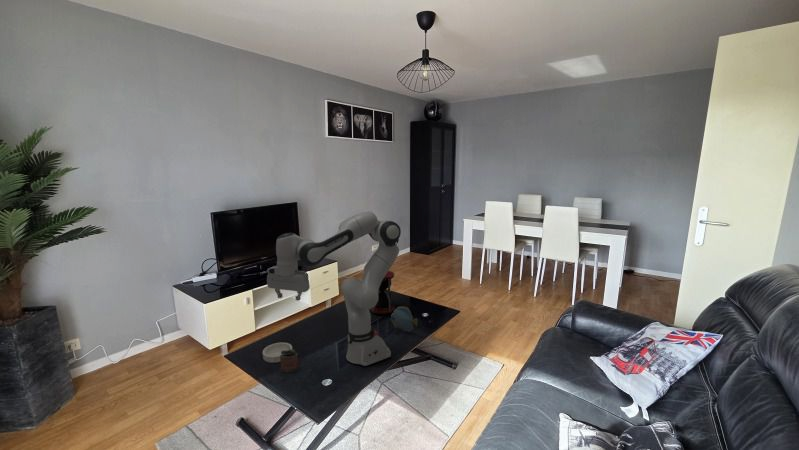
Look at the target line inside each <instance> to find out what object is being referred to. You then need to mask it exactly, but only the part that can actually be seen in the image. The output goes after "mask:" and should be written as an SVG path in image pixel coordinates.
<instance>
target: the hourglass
mask: <svg viewBox="0 0 799 450" xmlns="http://www.w3.org/2000/svg"><path fill="white" fill-rule="evenodd" d="M394 278H395V273H394V272H393V271H391V270H389V271H388V272H387V274H386V275H385V277H384V278H383V280H382V282H381V284H380V287H379V291H378V297H379V298H378V302H377V304H376V306H375V307H373V308H372V309H370V312H372V313H373V314H375V313H376V314H375V315H388V313H389V314H392V313H393V312H394V310H395V309H396V308H395V305H394V304H393V303H392V292H391V286H392V279H394ZM385 291H386V292H385ZM392 311H393V312H392Z"/></svg>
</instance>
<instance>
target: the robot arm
mask: <svg viewBox="0 0 799 450" xmlns="http://www.w3.org/2000/svg"><path fill="white" fill-rule="evenodd" d="M401 231H402V230H401V227H400V225H399V224H398V223H397V222H395V221H392V220H379V219H378V217H377V215H376V214H375V213H374V212H373V211H364V212H360V213H357V214H354V215H352V216H350V217H348V218H346V219H344V220H343V221H341V222H340V224H339V226H338V231H337V232H336V233H335V234H333V235H331V236H330V237H327V238H326V239H324V240H322V241H320V242H315V241H314V240H312V239H311V238H305V237H301V236H300V235H297V234H296V233H294V232H286V233H282V234H281V235H279V236H277V238H276V243H275V253H276V254H275V255H276V258H277V259H276V265H273V266H272V267H269V268H267V271H266V272H267V275H266V285H267V287H268V288H269V289H274V292H275V293H276V295H277V298H278V299H282V298H283V297H284V296H283V293H282V292H281V290H282V291H292V292H296V293H297V295H296V296H294V297H295V301H298V302H299V301H300V300H301V296H302V294H303V293H307V292H308V291H309V290H310V289H311V287H310V279H309V274H308V272H307V271H305V270H299V266H298V265H299V263H298V261H301V262H302V264H303V265H305V266H308V267H314V266H317V265H319V264H320V263H321V262H322V261H323V260H325V258H326V257H327V256H329V255H330V254H332V253H334V252H336V251H337V250H339V249H341V248H342V247H344V246H346V245H348V244H349V243H351V242H353V241H356V240H358V239H361V238H363V237H364V236H366V235H369V236H370V238H371V239H372V240H374V241H375V242H378V247H377V248H376V250H375V251H374V252H373V254H372V255H371V257H370V258H369V259H368V261H367V263H366V264H365V265H364V267H363V275H362V278H361V279H359V278H353V277H349V278H346V279H344V280H343V282H342V283H341V286H340V291H341V293H342V296H343V299H344V303H345V308H346V311H347V319H348V320H347V325H348V330H347V342H348V345H347V352H346V356H345V358H346V360H347V361H348V362H350V363H351V364H355V365H361V366H363V367H366V366H369V365H372V364H374V363H377V362H380V361H383V360H385V359H388V358H391V356H392V353H391V349H390V348H389V347H388V345H386V342H385V340H384V339H383V338H382V337H381V336H379V335H378V334H379V332H378V331H377V330H376V329H375V328H373V327H372V323H371V322H372V317H371V311H370V310H371V309H372V308H373V307H375V306H376V304H377V302H378V298H379V297H378V294H379V292H380V291H379V287H380V284H381V282H382V280H383V278H384V277H385V275H386V274H387V272H388V271H390V269H391V268H392V267H393V265H394V263H395V262H396V260H397V258H398V255H399V253H400V248H399V246H398V245H397V244H398V243H399V241H400V237H401Z"/></svg>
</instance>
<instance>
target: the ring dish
mask: <svg viewBox="0 0 799 450" xmlns="http://www.w3.org/2000/svg"><path fill="white" fill-rule="evenodd" d="M289 349H291V350H293V346H292V344H291V343H288V342H276V343H275V342H274V343H272V344H270V345H267V346H265V348H264V349H263V350H262V360H263V361H264V362H266V363H271V364H273V363H274V364H275V363H281V362H280V355H282V354H281V351H284V350H289Z"/></svg>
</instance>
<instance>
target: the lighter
mask: <svg viewBox="0 0 799 450" xmlns="http://www.w3.org/2000/svg"><path fill="white" fill-rule="evenodd" d="M281 354H282V355H280V362H279V363H280V372H281V373H292V372H293V373H294V372H297V371H299V370H300V368H299V361H298V359H299V357H298V354H299V353H298V352H296V350H295V349H292V350H291V349H289V350H284V351H281Z"/></svg>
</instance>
